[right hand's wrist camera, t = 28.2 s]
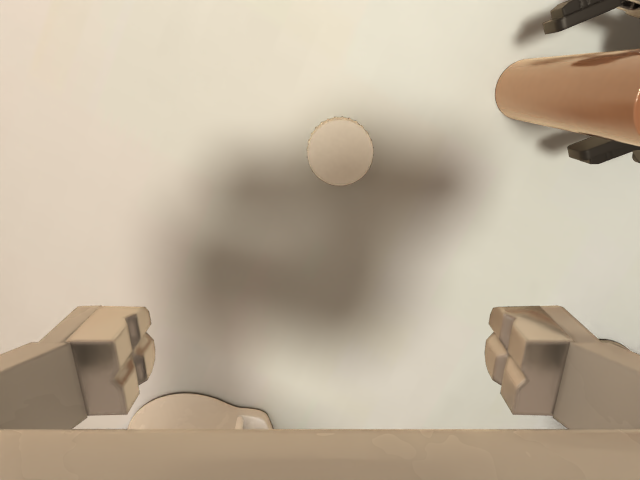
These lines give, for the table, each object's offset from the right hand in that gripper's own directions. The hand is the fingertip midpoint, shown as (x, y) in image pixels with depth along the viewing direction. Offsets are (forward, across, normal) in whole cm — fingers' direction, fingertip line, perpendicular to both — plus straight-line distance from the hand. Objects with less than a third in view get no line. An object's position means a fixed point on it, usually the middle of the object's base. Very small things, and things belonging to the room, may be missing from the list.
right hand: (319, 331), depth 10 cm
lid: (+26, +2, 0) cm, 26 cm away
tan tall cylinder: (+28, +16, +5) cm, 33 cm away
